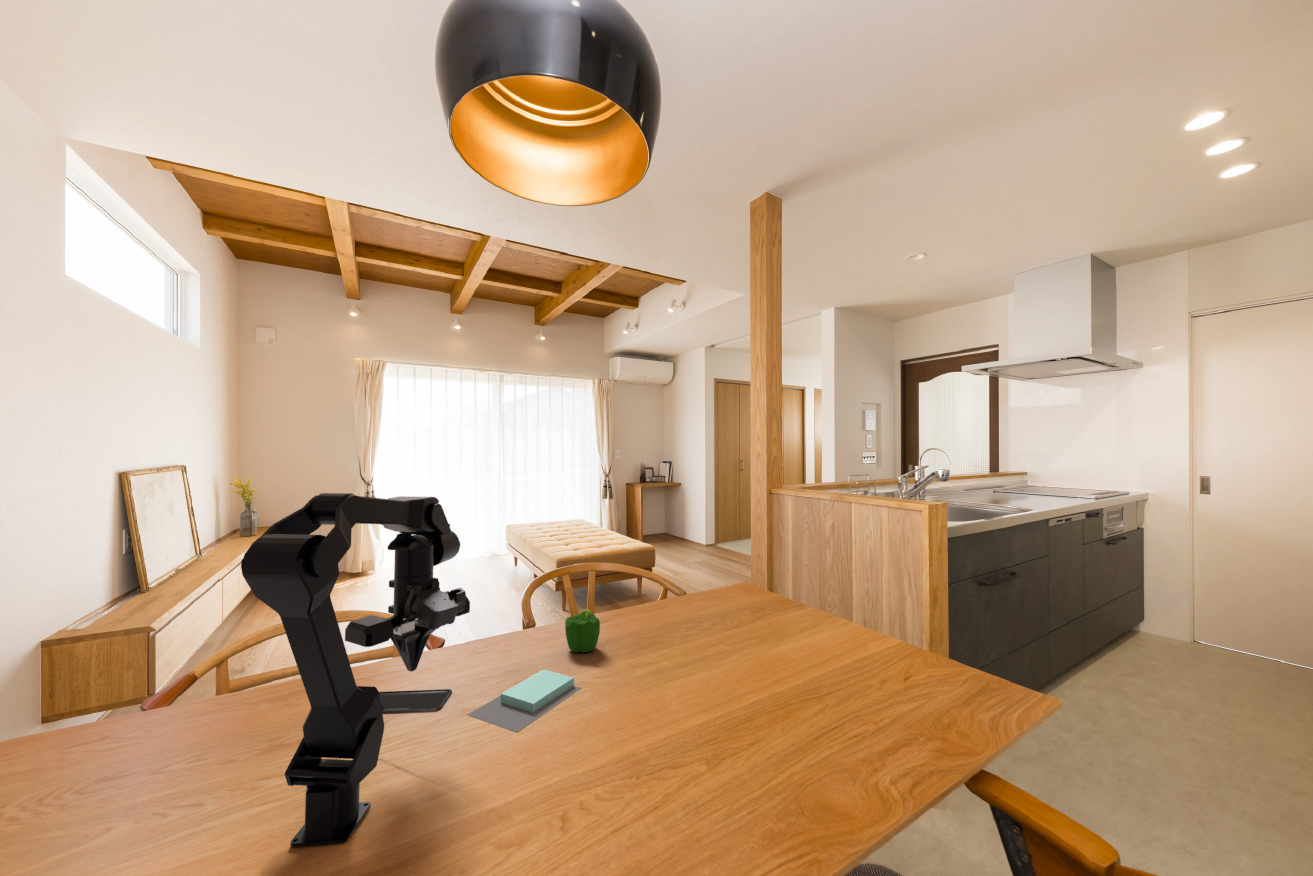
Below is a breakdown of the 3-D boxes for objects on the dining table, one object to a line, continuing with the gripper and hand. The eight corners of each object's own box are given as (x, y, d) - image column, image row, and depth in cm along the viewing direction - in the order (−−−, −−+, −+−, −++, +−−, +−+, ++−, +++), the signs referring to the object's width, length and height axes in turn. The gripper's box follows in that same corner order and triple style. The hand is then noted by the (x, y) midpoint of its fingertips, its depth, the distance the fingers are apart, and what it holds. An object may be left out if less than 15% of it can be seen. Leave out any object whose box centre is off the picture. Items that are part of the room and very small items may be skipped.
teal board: (533, 703, 89) (574, 677, 99) (500, 693, 92) (543, 669, 103) (533, 712, 89) (573, 685, 99) (500, 702, 92) (543, 677, 103)
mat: (517, 734, 82) (517, 732, 82) (466, 717, 88) (466, 714, 88) (581, 690, 98) (581, 688, 98) (535, 677, 104) (535, 675, 104)
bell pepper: (561, 646, 121) (561, 605, 121) (593, 641, 124) (593, 601, 125) (570, 659, 113) (570, 615, 113) (604, 653, 117) (604, 611, 117)
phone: (374, 692, 96) (453, 688, 97) (374, 698, 96) (453, 694, 97) (353, 713, 88) (439, 709, 89) (352, 719, 88) (439, 715, 89)
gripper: (391, 594, 68) (388, 708, 68) (493, 567, 85) (491, 659, 84) (344, 584, 73) (341, 690, 73) (449, 560, 90) (447, 647, 89)
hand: (411, 670), depth 80 cm, fingers closed
